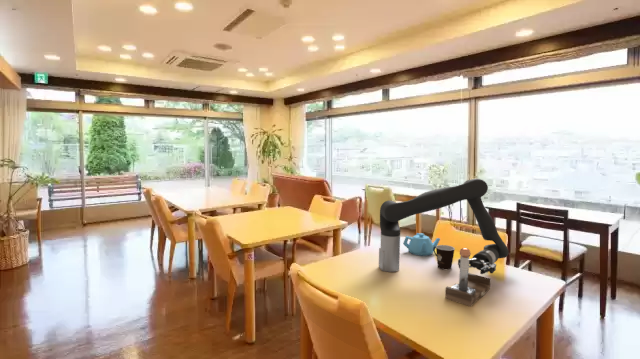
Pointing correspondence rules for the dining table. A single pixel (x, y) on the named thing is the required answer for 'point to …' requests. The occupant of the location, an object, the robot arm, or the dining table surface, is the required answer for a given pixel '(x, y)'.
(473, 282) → the base
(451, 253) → the coffee mug
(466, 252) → the handle
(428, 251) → the teapot
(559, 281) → the dining table surface
